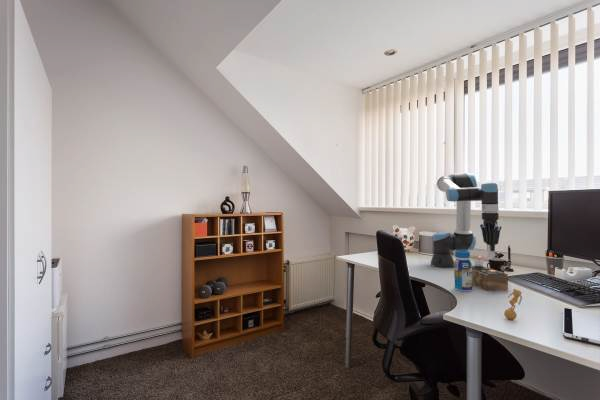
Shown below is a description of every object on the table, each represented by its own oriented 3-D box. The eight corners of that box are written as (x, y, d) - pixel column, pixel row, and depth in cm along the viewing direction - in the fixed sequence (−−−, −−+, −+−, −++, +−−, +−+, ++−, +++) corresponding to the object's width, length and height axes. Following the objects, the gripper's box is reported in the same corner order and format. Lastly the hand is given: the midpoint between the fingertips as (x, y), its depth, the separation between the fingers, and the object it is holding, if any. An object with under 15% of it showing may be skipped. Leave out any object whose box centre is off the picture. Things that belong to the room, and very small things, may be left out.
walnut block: (465, 281, 173) (465, 266, 173) (483, 280, 174) (483, 265, 174) (488, 290, 155) (487, 274, 155) (508, 289, 156) (507, 272, 156)
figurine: (499, 315, 123) (498, 285, 123) (516, 315, 122) (515, 285, 122) (510, 323, 115) (509, 291, 115) (528, 324, 114) (526, 292, 114)
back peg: (473, 270, 171) (472, 256, 171) (479, 270, 172) (479, 255, 172) (478, 272, 167) (477, 257, 167) (484, 271, 168) (484, 257, 168)
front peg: (486, 285, 161) (485, 269, 161) (493, 284, 162) (492, 269, 162) (491, 287, 157) (491, 271, 157) (498, 286, 158) (498, 271, 158)
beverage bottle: (455, 286, 164) (454, 249, 164) (473, 288, 159) (472, 250, 159) (453, 290, 157) (451, 251, 157) (471, 292, 152) (470, 253, 152)
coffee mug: (500, 274, 187) (500, 257, 187) (509, 277, 178) (508, 260, 178) (480, 274, 188) (480, 258, 188) (488, 277, 179) (487, 260, 179)
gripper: (474, 211, 166) (476, 255, 166) (492, 213, 153) (493, 259, 153) (487, 211, 166) (488, 254, 167) (506, 212, 153) (507, 259, 154)
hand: (491, 256), depth 160 cm, fingers closed
